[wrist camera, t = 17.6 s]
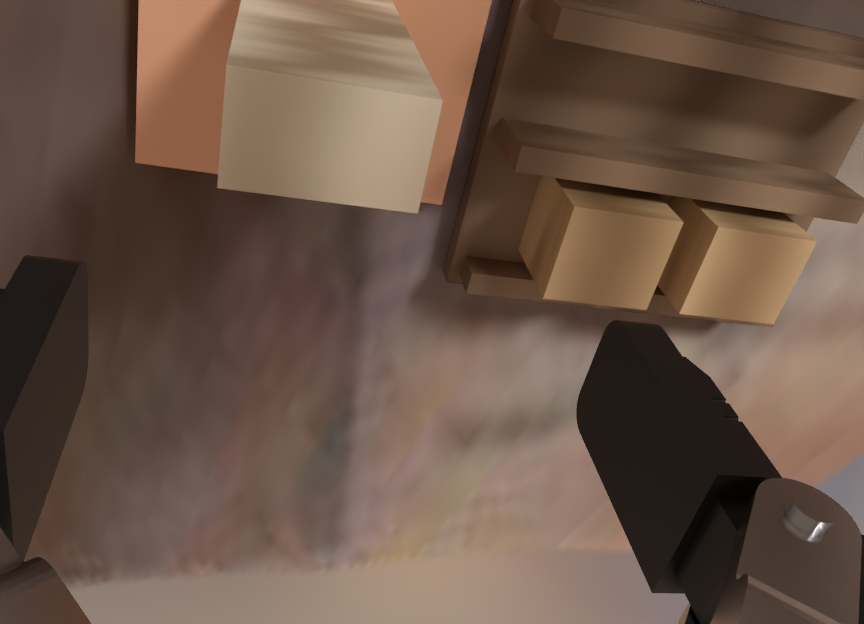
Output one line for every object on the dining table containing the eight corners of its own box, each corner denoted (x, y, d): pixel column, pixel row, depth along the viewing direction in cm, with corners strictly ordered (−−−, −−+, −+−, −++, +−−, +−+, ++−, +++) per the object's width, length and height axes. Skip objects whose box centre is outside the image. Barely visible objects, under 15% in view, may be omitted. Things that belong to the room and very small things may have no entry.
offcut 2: (766, 198, 34) (817, 241, 31) (729, 276, 36) (773, 324, 33) (675, 184, 33) (718, 226, 30) (642, 265, 35) (679, 313, 32)
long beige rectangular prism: (392, 0, 28) (442, 100, 19) (377, 83, 29) (417, 213, 20) (247, -28, 26) (226, 64, 17) (240, 60, 28) (217, 187, 19)
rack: (885, 43, 32) (953, 71, 29) (751, 306, 39) (794, 354, 36) (522, -37, 28) (553, -15, 25) (443, 270, 35) (459, 320, 32)
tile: (515, -121, 27) (520, -119, 26) (438, 196, 33) (441, 204, 32) (147, -212, 24) (143, -213, 23) (138, 154, 30) (135, 162, 29)
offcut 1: (644, 179, 33) (683, 221, 30) (612, 261, 35) (646, 310, 32) (544, 163, 32) (574, 206, 28) (518, 249, 34) (543, 298, 30)
